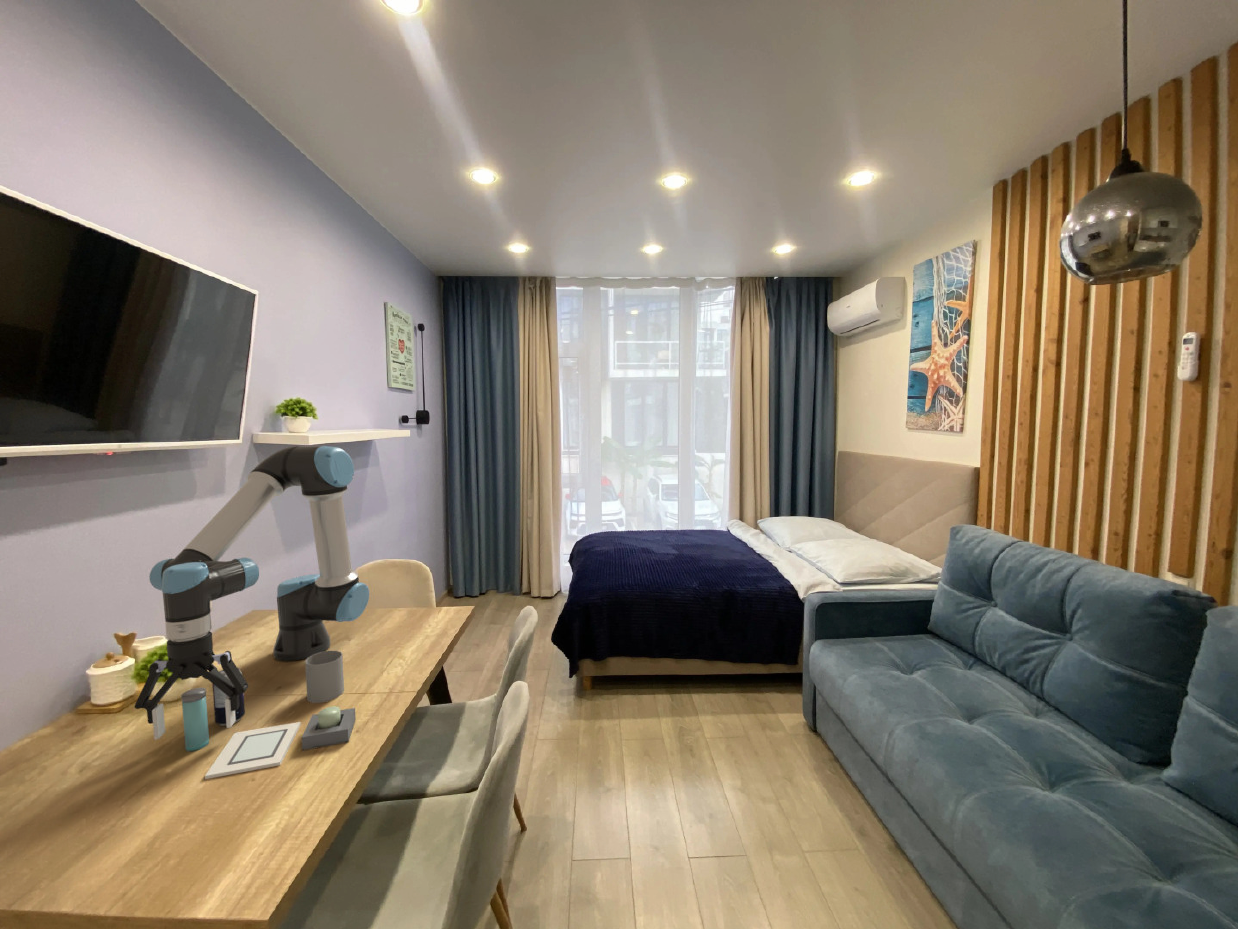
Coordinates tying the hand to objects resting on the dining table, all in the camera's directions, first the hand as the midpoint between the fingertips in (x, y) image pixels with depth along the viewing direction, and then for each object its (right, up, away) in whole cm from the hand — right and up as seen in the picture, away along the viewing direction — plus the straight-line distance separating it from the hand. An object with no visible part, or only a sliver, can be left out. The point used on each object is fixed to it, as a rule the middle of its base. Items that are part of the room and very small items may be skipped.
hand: (196, 730), depth 111 cm
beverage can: (0, -3, +10) cm, 10 cm away
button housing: (+27, -3, +4) cm, 28 cm away
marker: (0, -4, 0) cm, 4 cm away
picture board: (+14, -4, -1) cm, 15 cm away
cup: (+16, -2, +21) cm, 27 cm away
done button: (+27, -1, +4) cm, 27 cm away
